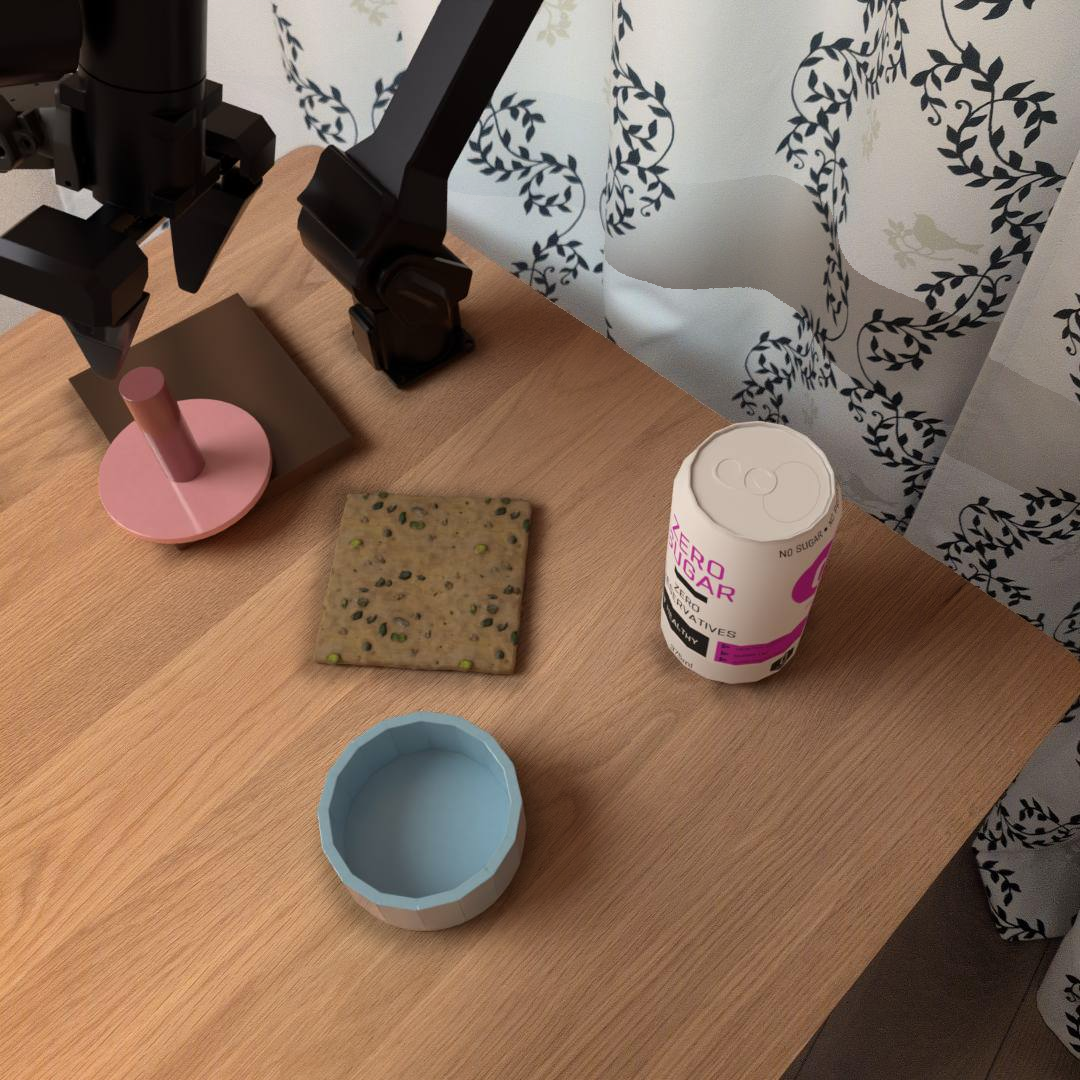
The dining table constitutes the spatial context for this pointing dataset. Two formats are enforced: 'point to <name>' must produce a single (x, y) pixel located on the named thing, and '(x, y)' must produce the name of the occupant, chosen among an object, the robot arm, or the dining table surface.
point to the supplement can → (746, 549)
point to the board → (231, 388)
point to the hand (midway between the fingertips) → (149, 331)
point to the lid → (181, 463)
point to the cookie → (426, 583)
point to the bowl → (423, 820)
